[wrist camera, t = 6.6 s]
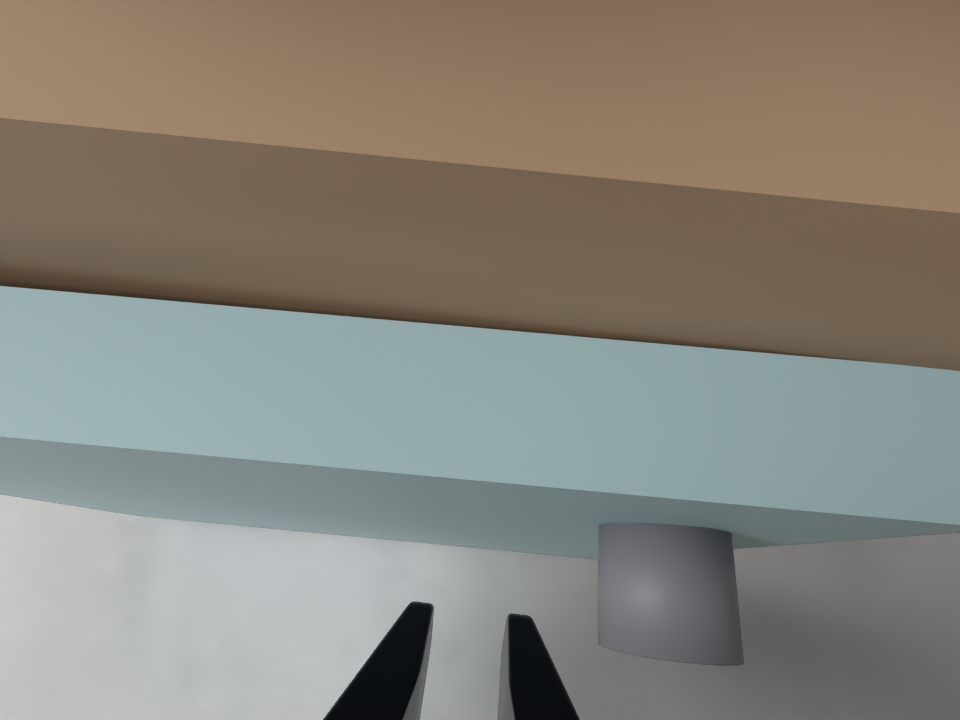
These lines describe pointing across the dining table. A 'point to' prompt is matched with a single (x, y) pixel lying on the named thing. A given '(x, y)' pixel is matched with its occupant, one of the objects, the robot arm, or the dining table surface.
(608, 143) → the cabinet
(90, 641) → the dining table surface
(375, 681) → the robot arm
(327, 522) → the door
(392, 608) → the dining table surface
